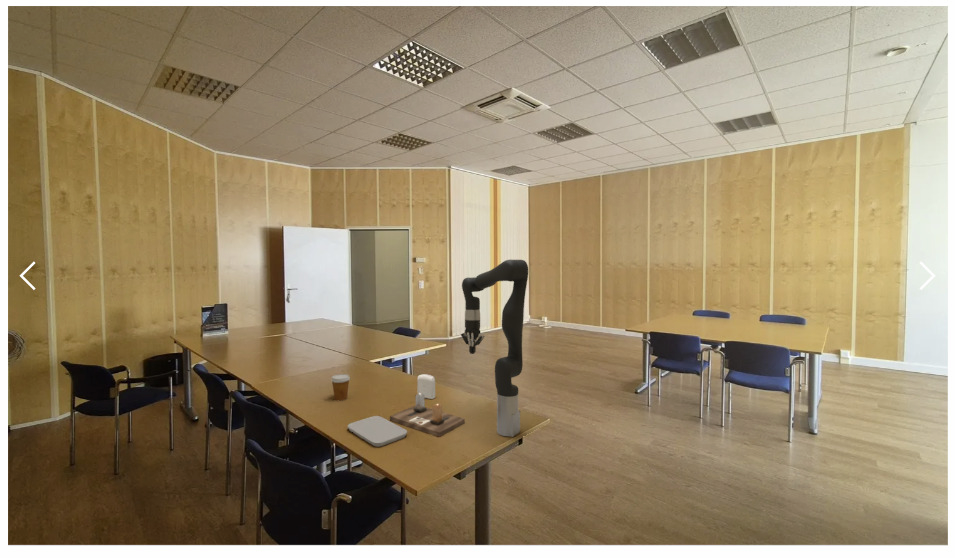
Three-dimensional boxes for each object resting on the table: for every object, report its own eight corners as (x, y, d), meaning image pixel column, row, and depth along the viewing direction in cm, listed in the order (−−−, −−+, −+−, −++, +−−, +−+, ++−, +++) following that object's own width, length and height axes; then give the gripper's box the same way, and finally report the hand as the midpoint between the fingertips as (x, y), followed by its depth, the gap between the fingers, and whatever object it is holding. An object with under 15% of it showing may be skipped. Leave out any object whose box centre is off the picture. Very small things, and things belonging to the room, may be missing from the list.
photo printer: (416, 396, 220) (416, 374, 219) (420, 394, 224) (420, 372, 223) (432, 400, 215) (432, 377, 215) (436, 397, 219) (436, 375, 219)
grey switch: (426, 409, 196) (426, 392, 195) (420, 412, 192) (420, 395, 192) (419, 407, 198) (419, 390, 198) (413, 410, 195) (413, 393, 194)
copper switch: (444, 421, 182) (444, 403, 181) (437, 425, 178) (437, 406, 178) (436, 419, 184) (436, 401, 184) (430, 422, 181) (430, 404, 180)
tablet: (377, 419, 191) (377, 414, 191) (410, 437, 173) (410, 431, 172) (344, 430, 179) (344, 425, 179) (376, 450, 161) (376, 444, 161)
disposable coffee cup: (353, 395, 222) (352, 374, 221) (345, 402, 212) (345, 379, 211) (336, 395, 222) (335, 373, 222) (328, 401, 213) (327, 378, 212)
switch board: (464, 422, 186) (464, 417, 186) (439, 437, 172) (439, 431, 171) (416, 408, 203) (416, 404, 203) (389, 420, 189) (389, 415, 189)
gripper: (457, 318, 198) (457, 353, 199) (479, 320, 190) (479, 357, 191) (466, 316, 204) (466, 350, 205) (488, 318, 196) (487, 353, 197)
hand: (472, 353), depth 198 cm, fingers closed
